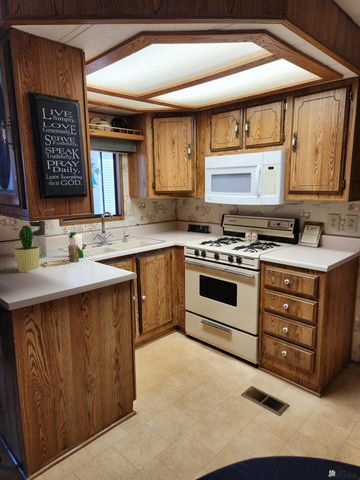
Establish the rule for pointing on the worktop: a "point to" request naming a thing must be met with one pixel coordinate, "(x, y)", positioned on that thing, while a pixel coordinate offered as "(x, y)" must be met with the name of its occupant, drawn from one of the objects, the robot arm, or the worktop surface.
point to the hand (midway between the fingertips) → (55, 212)
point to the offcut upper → (54, 262)
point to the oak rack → (55, 264)
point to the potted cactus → (26, 251)
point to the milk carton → (76, 242)
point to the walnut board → (73, 253)
